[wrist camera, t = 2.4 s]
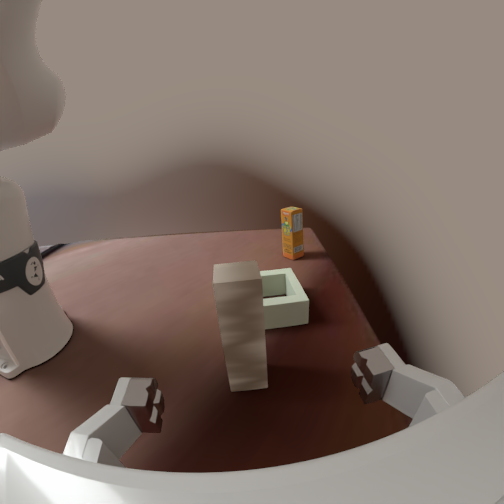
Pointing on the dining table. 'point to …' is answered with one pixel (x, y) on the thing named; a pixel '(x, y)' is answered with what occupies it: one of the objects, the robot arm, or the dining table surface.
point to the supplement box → (292, 232)
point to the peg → (241, 323)
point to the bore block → (283, 299)
